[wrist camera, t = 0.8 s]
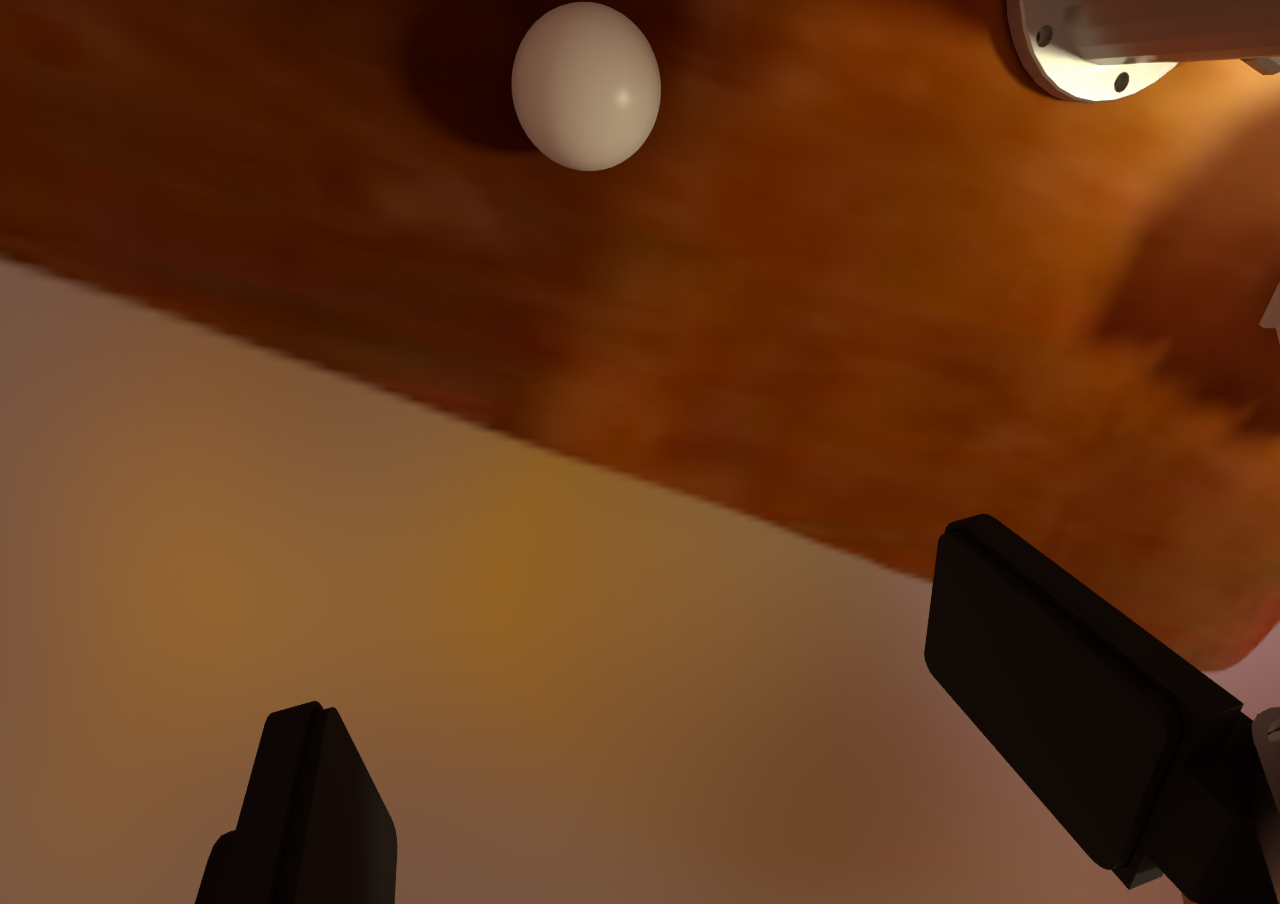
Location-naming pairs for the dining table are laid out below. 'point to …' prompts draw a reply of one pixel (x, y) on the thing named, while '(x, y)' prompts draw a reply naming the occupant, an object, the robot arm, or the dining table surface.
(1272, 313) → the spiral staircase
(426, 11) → the dining table surface
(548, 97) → the cue ball
